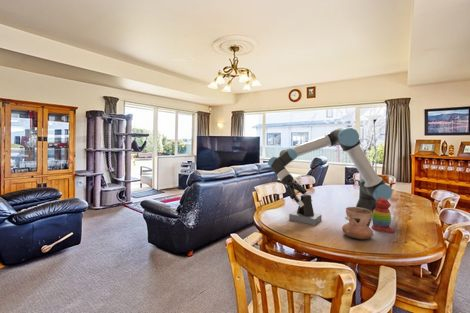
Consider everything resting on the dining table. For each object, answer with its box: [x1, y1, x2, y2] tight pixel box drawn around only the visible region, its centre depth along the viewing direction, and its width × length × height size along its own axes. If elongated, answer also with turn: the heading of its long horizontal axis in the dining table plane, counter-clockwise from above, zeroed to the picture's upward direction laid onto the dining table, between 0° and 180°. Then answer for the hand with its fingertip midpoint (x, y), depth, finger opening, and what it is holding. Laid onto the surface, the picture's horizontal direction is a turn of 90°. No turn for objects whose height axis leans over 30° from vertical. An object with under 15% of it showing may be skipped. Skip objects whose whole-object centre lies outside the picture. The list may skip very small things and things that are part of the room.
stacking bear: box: [371, 197, 395, 234], centre depth 143 cm, size 11×10×18 cm
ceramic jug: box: [341, 206, 374, 240], centre depth 132 cm, size 18×14×14 cm
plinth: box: [288, 209, 322, 226], centre depth 159 cm, size 16×12×4 cm
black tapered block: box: [296, 194, 315, 217], centre depth 158 cm, size 9×6×12 cm, turn 25°
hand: (306, 204), depth 157 cm, fingers open, 13 cm apart
